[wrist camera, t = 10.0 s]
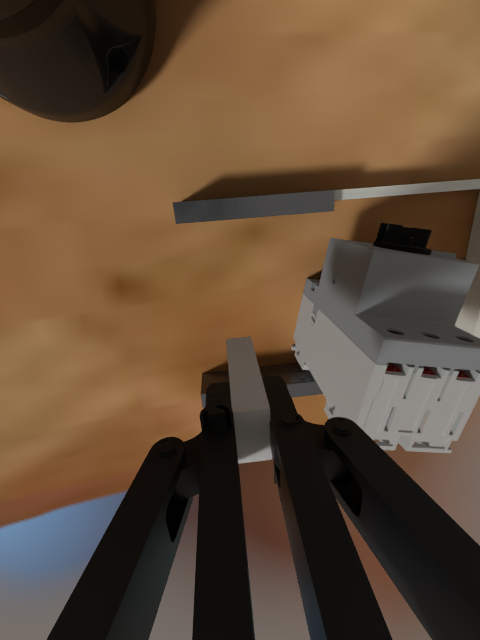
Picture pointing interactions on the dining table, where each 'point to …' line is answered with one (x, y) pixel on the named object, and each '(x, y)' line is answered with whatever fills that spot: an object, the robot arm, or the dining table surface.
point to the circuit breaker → (392, 339)
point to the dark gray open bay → (253, 207)
